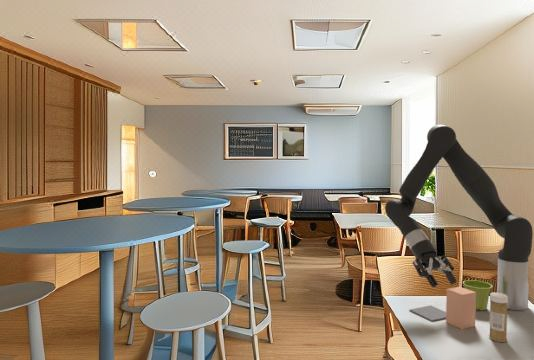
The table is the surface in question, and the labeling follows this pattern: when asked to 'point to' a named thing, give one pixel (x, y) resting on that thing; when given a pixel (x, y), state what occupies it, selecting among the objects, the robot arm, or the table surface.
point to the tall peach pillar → (461, 307)
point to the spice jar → (498, 316)
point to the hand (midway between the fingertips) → (445, 284)
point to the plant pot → (479, 292)
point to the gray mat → (430, 313)
